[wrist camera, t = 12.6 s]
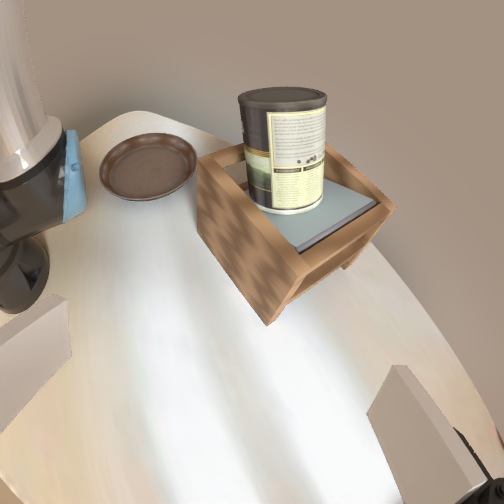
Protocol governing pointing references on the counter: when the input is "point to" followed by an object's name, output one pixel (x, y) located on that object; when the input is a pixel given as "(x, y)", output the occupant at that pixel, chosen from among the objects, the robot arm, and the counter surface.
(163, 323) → the counter surface
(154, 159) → the plant saucer
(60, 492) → the counter surface
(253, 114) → the coffee can
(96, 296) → the counter surface
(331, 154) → the wooden stand
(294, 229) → the lid
